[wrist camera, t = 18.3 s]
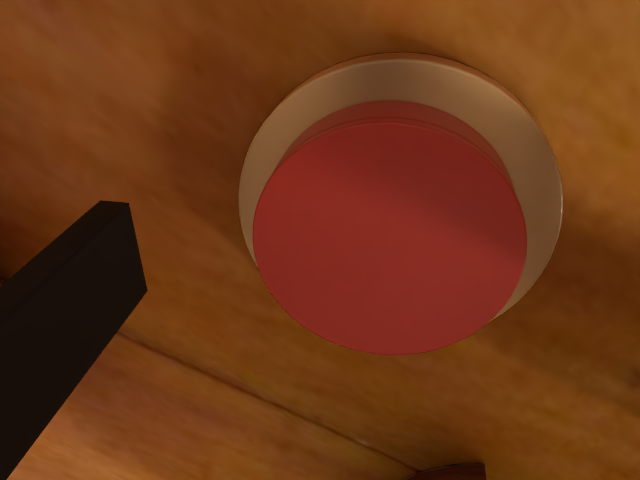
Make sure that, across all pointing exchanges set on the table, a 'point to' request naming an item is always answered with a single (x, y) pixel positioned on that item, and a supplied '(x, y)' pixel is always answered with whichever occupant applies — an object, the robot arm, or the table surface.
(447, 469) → the food container
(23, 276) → the robot arm
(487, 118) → the coaster
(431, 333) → the jar lid
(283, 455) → the table surface
